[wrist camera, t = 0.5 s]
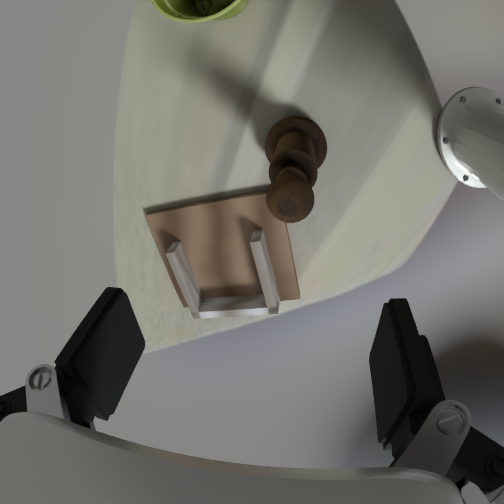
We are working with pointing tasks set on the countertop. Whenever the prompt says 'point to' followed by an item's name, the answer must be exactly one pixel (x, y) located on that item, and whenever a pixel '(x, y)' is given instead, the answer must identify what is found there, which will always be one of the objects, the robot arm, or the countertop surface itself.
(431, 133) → the countertop surface
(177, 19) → the plant pot
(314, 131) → the wooden chess pawn
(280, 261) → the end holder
